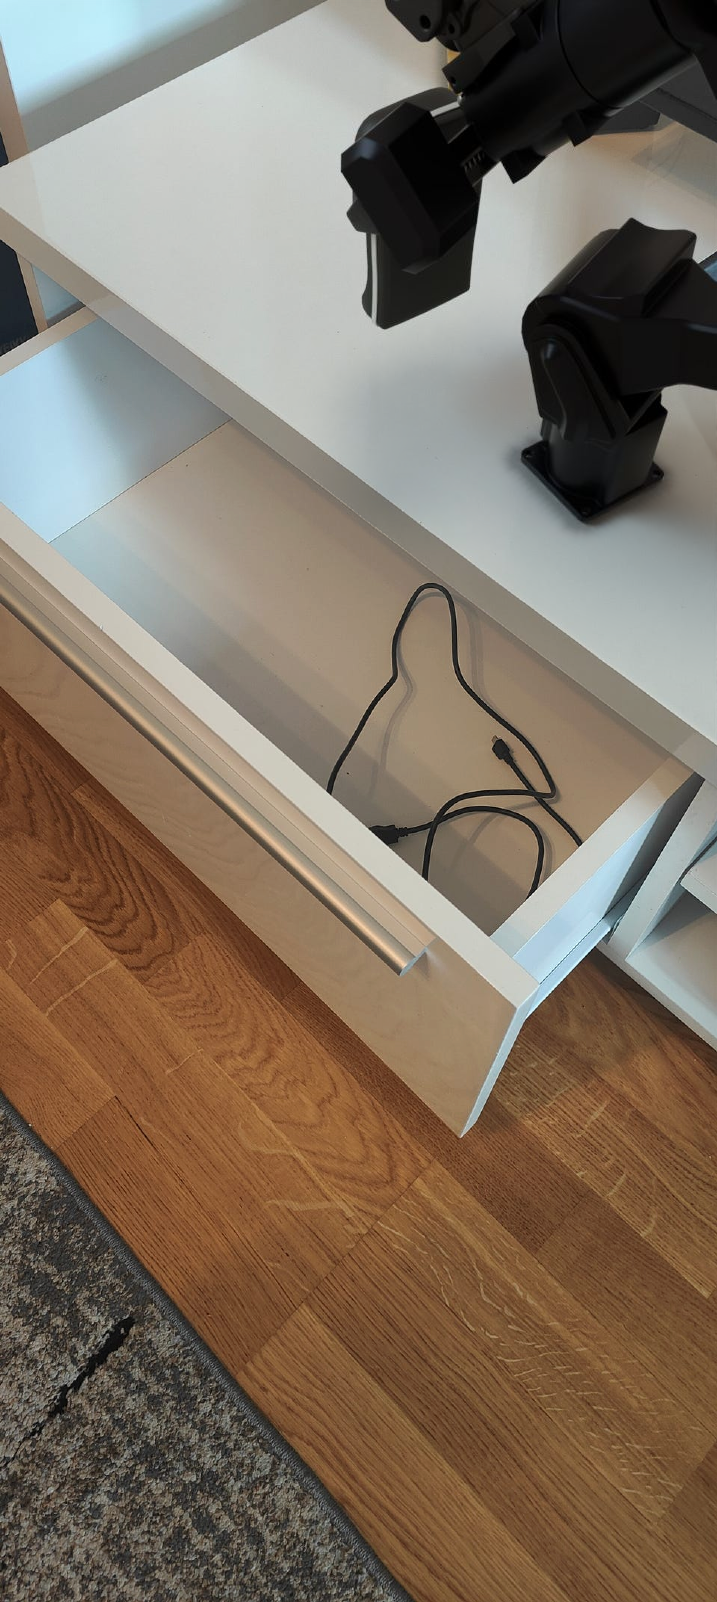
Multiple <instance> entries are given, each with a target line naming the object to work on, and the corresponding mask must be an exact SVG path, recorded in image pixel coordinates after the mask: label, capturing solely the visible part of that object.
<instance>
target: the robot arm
mask: <svg viewBox="0 0 717 1602" xmlns="http://www.w3.org/2000/svg"><path fill="white" fill-rule="evenodd" d="M384 5H385V7H386V9H387V11H388V12H389V13H390V14H391V15H392V16H393V17H394V18H395V19H396V20H397V21H398V22H399V23H400V24H401V25H402V26H403V28H404V29H406V31H408V33H409V34H410V35H411V36H412V37H413V38H414V39H415V40H416V41H418V42H420V43H428V42H430V41H432V40H433V39H434V38H435V39H436V40H437V41H438V42H439V43H440V44H441V45H442V46H443V47H444V48H446V50H447V49H449V50H451V51H454V52H460V54H459V55H458V56H457V57H455V58H454V59H453V60H452V61H450V62H449V63H448V64H447V63H446V64H445V65H444V66H443V67H441V72H442V73H443V75H444V77H445V79H446V80H447V83H448V82H449V84H450V86H451V88H452V89H453V91H454V93H455V94H460V93H461V92H462V93H461V94H460V95H459V96H458V97H457V102H458V104H459V106H460V108H461V110H462V111H463V113H464V116H465V119H466V122H467V124H468V125H466V126H465V127H464V128H463V129H462V130H461V131H460V132H459V133H457V134H456V135H455V136H454V137H453V138H452V139H451V140H449V141H448V142H447V141H446V139H445V137H444V135H443V134H442V132H441V130H440V128H439V127H438V125H437V123H436V121H435V120H434V118H433V116H432V114H431V113H430V111H429V110H427V109H425V108H423V107H420V106H418V105H415V104H413V103H411V102H408V101H405V102H404V103H402V104H401V105H400V106H399V107H397V108H396V109H395V110H393V111H392V112H391V113H390V114H389V115H387V116H386V117H385V118H384V119H382V120H381V121H380V122H379V123H377V124H376V125H375V126H374V127H373V128H371V129H370V130H369V131H368V132H367V133H365V134H364V135H363V136H362V137H361V138H359V139H358V140H357V141H356V142H355V141H354V142H353V143H351V145H350V146H348V148H346V149H345V150H344V151H343V152H341V154H340V173H341V175H342V176H343V178H344V179H345V181H346V183H347V184H348V185H349V187H350V189H351V191H352V190H353V192H354V194H355V195H356V197H357V198H356V199H355V200H354V202H353V203H352V202H351V203H352V204H351V205H350V206H349V207H348V209H347V211H346V214H345V215H346V217H347V219H348V220H349V222H350V224H351V225H352V227H353V228H354V230H355V231H356V232H358V233H364V234H366V233H369V234H375V235H380V236H381V237H382V239H383V240H384V242H385V244H386V245H387V247H388V249H389V250H390V252H391V253H392V255H393V257H394V258H395V260H396V261H397V263H398V265H399V266H400V268H401V270H403V271H406V272H409V273H412V274H416V273H418V272H420V271H421V270H423V269H425V268H427V267H428V266H430V265H432V264H434V263H435V262H437V261H439V260H440V259H441V258H442V257H443V256H444V255H445V254H446V253H447V252H448V251H449V250H450V249H451V248H452V247H453V246H454V245H456V244H457V243H458V242H459V241H460V240H461V239H462V238H463V237H464V236H465V235H466V234H467V233H468V232H469V231H470V230H471V229H472V228H473V227H474V226H475V225H478V217H479V213H478V210H479V211H480V206H479V200H480V201H481V198H480V199H479V197H478V195H477V193H476V192H475V190H474V188H473V186H475V185H476V184H477V183H478V182H479V181H480V180H481V179H482V178H483V179H484V178H485V177H486V176H487V174H489V173H490V172H491V171H492V170H493V169H495V167H496V166H498V164H501V165H502V167H503V169H504V170H505V171H504V172H506V175H507V176H508V178H509V180H510V182H511V183H512V185H515V184H517V183H518V182H520V181H521V180H523V179H525V178H526V177H528V176H529V175H530V174H531V173H532V172H533V171H534V170H535V169H536V168H538V166H540V165H541V164H542V162H544V161H545V160H546V159H547V158H548V157H549V156H550V155H551V154H552V153H554V152H555V151H557V150H558V149H560V148H562V147H564V146H565V145H567V144H568V143H571V144H572V147H573V148H575V147H577V146H579V145H580V144H582V143H584V142H586V141H587V140H589V139H590V138H592V136H594V135H595V134H596V133H597V132H598V131H599V130H600V129H601V128H602V127H603V126H604V125H605V124H606V123H607V122H608V121H609V120H610V119H612V117H613V116H615V115H616V114H618V113H619V112H620V111H622V110H624V109H626V108H628V107H629V106H630V105H632V104H633V103H635V102H636V101H638V100H640V99H641V98H644V96H647V95H648V94H649V93H651V92H653V91H655V90H657V89H658V88H659V87H661V86H662V85H664V84H666V83H668V82H669V81H670V80H673V79H674V78H676V77H677V76H678V75H680V74H682V73H684V72H685V71H688V70H689V69H690V68H692V67H694V66H696V65H697V64H698V65H699V68H700V69H701V72H702V74H703V77H704V78H705V81H706V83H707V85H708V87H709V89H710V91H711V94H712V96H713V98H714V101H715V102H716V103H717V0H384ZM479 146H480V147H481V150H480V151H479V152H478V153H477V154H475V155H474V157H472V158H471V159H470V160H469V161H468V162H467V163H465V165H464V166H462V167H461V165H460V164H461V163H462V162H463V161H464V160H465V159H466V158H467V157H468V156H470V155H471V154H472V153H473V152H474V151H475V150H476V149H477V148H478V147H479ZM697 240H698V236H697V234H696V233H695V232H694V231H692V230H688V229H686V228H683V229H682V228H681V229H677V228H676V229H662V228H656V227H652V226H649V225H646V224H645V223H643V222H641V221H639V220H638V219H635V218H634V217H629V218H628V219H627V221H625V223H623V224H622V225H621V226H620V227H619V228H608V229H605V230H602V231H600V232H599V233H598V234H597V235H595V236H593V238H591V239H590V240H589V241H588V242H587V243H586V244H585V245H584V246H583V247H582V248H581V249H580V250H579V251H578V252H577V253H576V254H575V255H574V256H573V258H571V260H570V261H569V262H568V263H567V264H565V266H564V267H563V268H562V269H561V270H560V271H559V272H558V273H557V274H556V275H555V276H554V277H553V278H552V279H551V280H550V281H549V282H548V284H547V285H546V286H545V287H544V288H543V289H542V290H541V291H540V292H538V294H537V295H536V296H535V297H534V298H533V299H532V300H531V301H530V302H529V303H528V304H527V306H526V307H525V310H524V312H523V315H522V317H521V328H520V334H521V338H522V341H523V342H522V343H523V347H524V349H525V351H526V353H527V358H528V364H529V369H530V375H531V380H532V385H533V390H534V391H533V392H534V397H535V401H536V402H535V403H536V407H537V413H538V416H539V417H540V418H541V419H542V421H541V424H540V425H541V426H540V429H539V436H540V437H541V439H540V440H539V441H537V442H535V443H532V444H531V445H529V446H527V447H525V448H523V449H522V451H521V452H520V457H519V458H520V462H521V463H523V465H524V466H525V467H526V468H527V469H528V470H529V471H530V472H531V474H533V475H534V476H535V478H536V479H538V480H539V481H540V483H542V484H543V485H544V486H545V487H546V488H547V490H548V491H550V493H551V494H553V496H554V497H555V498H556V499H557V500H559V502H560V503H561V504H562V505H564V507H565V508H566V509H567V510H568V511H569V512H570V513H571V514H572V515H573V516H574V517H575V518H576V519H577V520H578V521H579V522H581V523H589V522H591V521H593V520H595V519H597V518H598V517H600V516H602V515H604V514H605V513H607V512H609V511H612V510H613V509H616V508H617V507H619V506H621V505H623V504H625V503H626V502H628V501H630V500H631V499H633V498H636V497H637V496H640V495H641V494H643V493H645V492H646V491H649V490H650V489H652V488H654V487H656V486H657V485H659V484H661V483H662V482H663V480H664V478H665V471H664V470H663V469H662V468H661V466H659V465H658V464H657V463H656V462H655V461H654V458H655V456H656V455H655V454H656V452H657V448H658V445H659V442H660V439H661V436H662V432H663V430H664V426H665V423H666V421H667V417H668V414H669V411H668V409H667V408H666V407H665V406H664V405H663V404H662V398H663V393H662V391H664V389H665V388H670V387H674V386H681V385H684V386H693V387H696V388H697V387H698V388H700V389H705V390H710V391H715V392H717V281H716V279H714V278H713V276H711V275H710V274H709V273H708V271H706V270H705V269H704V267H702V266H701V265H700V264H699V263H698V262H697V261H696V260H695V259H694V254H695V249H696V244H697Z"/></svg>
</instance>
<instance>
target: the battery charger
mask: <svg viewBox="0 0 717 1602" xmlns="http://www.w3.org/2000/svg"><path fill="white" fill-rule="evenodd" d="M458 96H459V95H457V94H455V93H454V91H452V90H450V89H448V87H445V86H444V87H443V86H437V87H433V88H429V89H426V90H424V91H420V92H418V93H416V94H413V95H410V96H408V97H405V98H402V99H400V100H398V101H396V102H393V103H391V104H388V105H386V106H384V107H382V108H378V109H377V110H375V111H374V112H372V113H370V114H369V115H368V116H367V117H366V118H365V119H364V120H362V122H361V124H360V126H359V127H358V129H357V130H356V134H355V137H354V143H355V142H356V141H357V140H358V139H359V138H361V137H362V136H363V135H364V134H365V133H367V132H368V131H369V130H370V129H371V128H373V127H374V126H375V125H376V124H377V123H379V122H380V121H381V120H382V119H384V118H385V117H386V116H387V115H389V114H390V113H391V112H392V111H393V110H395V109H396V108H397V107H399V106H400V105H401V104H402V103H404V102H405V101H408V102H411V103H413V104H415V105H418V106H420V107H423V108H425V109H427V110H429V111H430V113H431V114H432V116H433V118H434V120H435V121H436V123H437V125H438V127H439V128H440V130H441V132H442V134H443V135H444V137H445V139H446V141H447V142H448V141H449V140H451V139H452V138H453V137H454V136H455V135H456V134H457V133H459V132H460V131H461V130H462V129H463V128H464V127H465V126H466V125H468V124H467V122H466V119H465V116H464V113H463V111H462V110H461V108H460V106H459V104H458V102H457V97H458ZM480 150H481V147H480V146H479V147H478V148H477V149H476V150H475V151H474V152H473V153H472V154H471V155H470V156H468V157H467V158H466V159H465V160H464V161H463V162H462V163H461V164H460V165H461V167H462V166H464V165H465V163H467V162H468V161H469V160H470V159H471V158H472V157H474V155H475V154H477V153H478V152H479V151H480ZM483 179H484V177H483V178H482V179H481V180H480V181H479V182H478V183H477V184H476V185H475V186H473V188H474V190H475V192H476V193H477V195H478V197H479V199H480V200H479V207H480V204H481V197H482V190H483V181H484V180H483ZM351 191H352V192H351V193H352V194H351V195H352V197H351V198H352V199H351V200H352V202H351V203H353V202H354V200H355V199H356V198H357V197H356V195H355V194H354V192H353V190H352V189H351ZM479 212H480V209H479V210H478V214H479ZM477 225H478V224H477ZM477 225H475V226H474V227H473V228H472V229H471V230H470V231H469V232H468V233H467V234H466V235H465V236H464V237H463V238H462V239H461V240H460V241H459V242H458V243H457V244H456V245H454V246H453V247H452V248H451V249H450V250H449V251H448V252H447V253H446V254H445V255H444V256H443V257H442V258H441V259H440V260H439V261H437V262H435V263H434V264H432V265H430V266H428V267H427V268H425V269H423V270H421V271H420V272H418V273H416V274H412V273H409V272H406V271H403V270H401V268H400V266H399V265H398V263H397V261H396V260H395V258H394V257H393V255H392V253H391V252H390V250H389V249H388V247H387V245H386V244H385V242H384V240H383V239H382V237H381V236H380V235H375V234H369V233H365V244H366V245H365V246H366V248H365V249H366V267H367V271H366V283H365V288H364V291H363V293H362V295H361V305H362V308H363V310H364V312H365V314H366V315H367V316H368V318H370V319H371V323H372V324H374V326H376V327H379V328H380V329H381V330H383V331H384V330H385V331H386V330H388V329H391V328H393V327H396V326H398V325H401V324H403V323H406V322H408V321H410V320H413V319H415V318H416V317H419V316H421V315H423V314H426V313H428V312H430V311H432V310H434V309H436V308H438V307H440V306H442V305H444V304H447V303H448V302H450V301H452V300H454V299H456V298H458V297H460V296H462V295H463V294H465V293H467V292H468V291H470V289H471V281H472V280H471V279H472V278H471V277H472V267H473V258H474V246H475V241H476V240H475V239H476V234H477V233H476V232H477Z"/></svg>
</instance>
